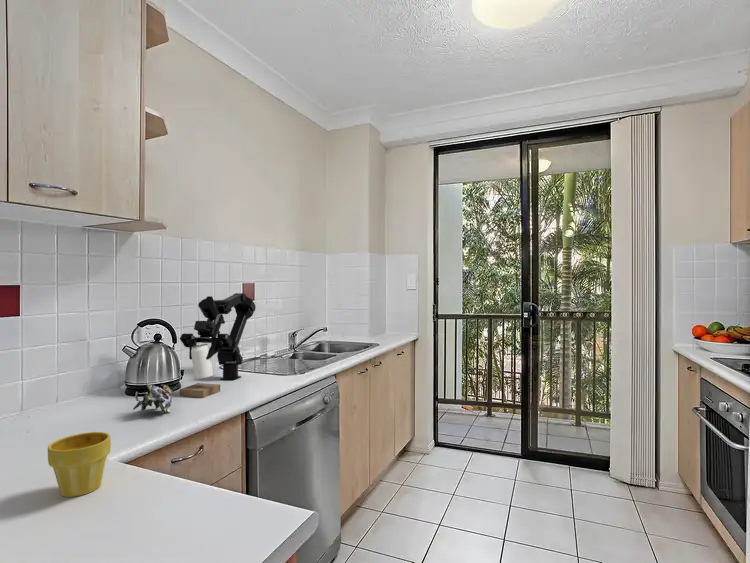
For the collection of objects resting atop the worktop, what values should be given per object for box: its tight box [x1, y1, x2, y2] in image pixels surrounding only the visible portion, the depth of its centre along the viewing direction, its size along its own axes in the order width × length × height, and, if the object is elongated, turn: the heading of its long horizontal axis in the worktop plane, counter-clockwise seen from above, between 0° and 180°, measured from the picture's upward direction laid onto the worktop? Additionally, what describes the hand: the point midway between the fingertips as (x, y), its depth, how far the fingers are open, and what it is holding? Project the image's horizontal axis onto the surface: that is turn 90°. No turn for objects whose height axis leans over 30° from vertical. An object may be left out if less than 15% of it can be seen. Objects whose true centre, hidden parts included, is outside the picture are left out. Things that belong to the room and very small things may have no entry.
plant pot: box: [47, 431, 112, 498], centre depth 86 cm, size 10×10×10 cm
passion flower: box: [133, 383, 174, 416], centre depth 136 cm, size 11×11×12 cm
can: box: [191, 343, 214, 380], centre depth 160 cm, size 6×6×12 cm
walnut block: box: [179, 382, 221, 399], centre depth 160 cm, size 10×10×3 cm
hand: (198, 359), depth 159 cm, fingers closed on can, 6 cm apart
